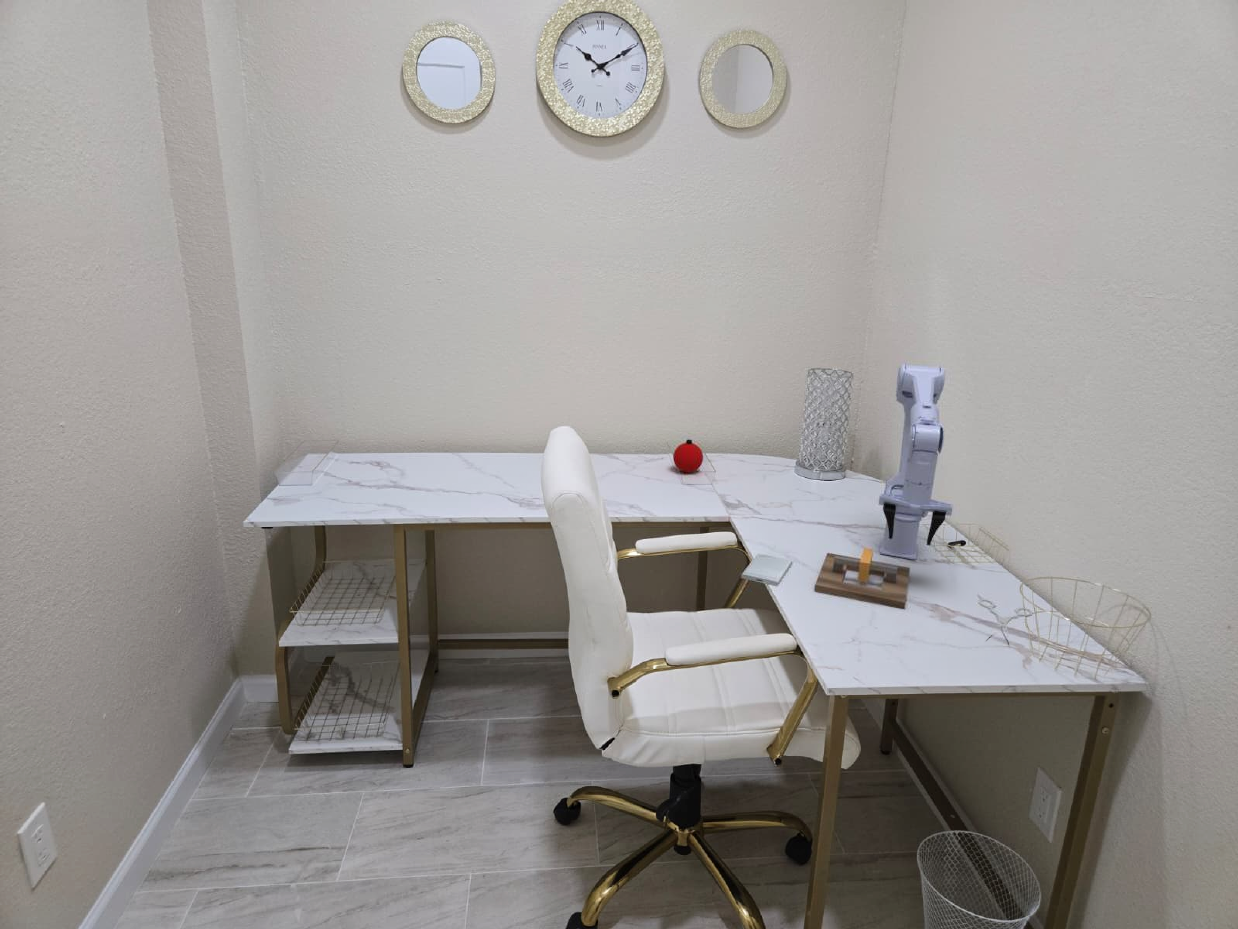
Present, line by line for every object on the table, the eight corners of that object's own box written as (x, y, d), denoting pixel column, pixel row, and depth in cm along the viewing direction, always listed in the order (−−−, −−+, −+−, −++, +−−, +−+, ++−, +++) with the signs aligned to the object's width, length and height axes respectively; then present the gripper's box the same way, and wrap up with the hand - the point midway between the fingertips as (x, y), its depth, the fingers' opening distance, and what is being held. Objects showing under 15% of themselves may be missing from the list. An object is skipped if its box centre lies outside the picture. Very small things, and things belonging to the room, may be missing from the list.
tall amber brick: (861, 566, 175) (863, 547, 174) (870, 568, 174) (873, 549, 173) (857, 581, 168) (859, 561, 166) (867, 583, 167) (869, 563, 166)
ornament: (694, 478, 234) (696, 445, 231) (667, 472, 238) (669, 440, 235) (707, 470, 242) (709, 438, 238) (680, 465, 246) (682, 434, 243)
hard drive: (757, 553, 182) (741, 573, 171) (792, 560, 179) (778, 581, 168) (756, 559, 182) (740, 580, 172) (792, 566, 179) (777, 588, 168)
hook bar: (833, 568, 174) (835, 555, 173) (895, 580, 170) (897, 566, 169) (832, 572, 172) (834, 558, 171) (895, 583, 168) (897, 570, 167)
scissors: (1033, 606, 163) (1029, 650, 146) (1032, 610, 163) (1028, 653, 146) (977, 594, 167) (967, 634, 150) (976, 597, 168) (966, 638, 151)
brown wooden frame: (826, 558, 182) (827, 552, 182) (909, 573, 176) (910, 567, 176) (814, 591, 167) (815, 584, 166) (904, 609, 160) (905, 602, 160)
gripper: (881, 480, 165) (872, 541, 169) (956, 491, 160) (945, 553, 164) (883, 471, 171) (875, 529, 175) (956, 481, 166) (945, 541, 170)
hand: (909, 540), depth 170 cm, fingers open, 7 cm apart
